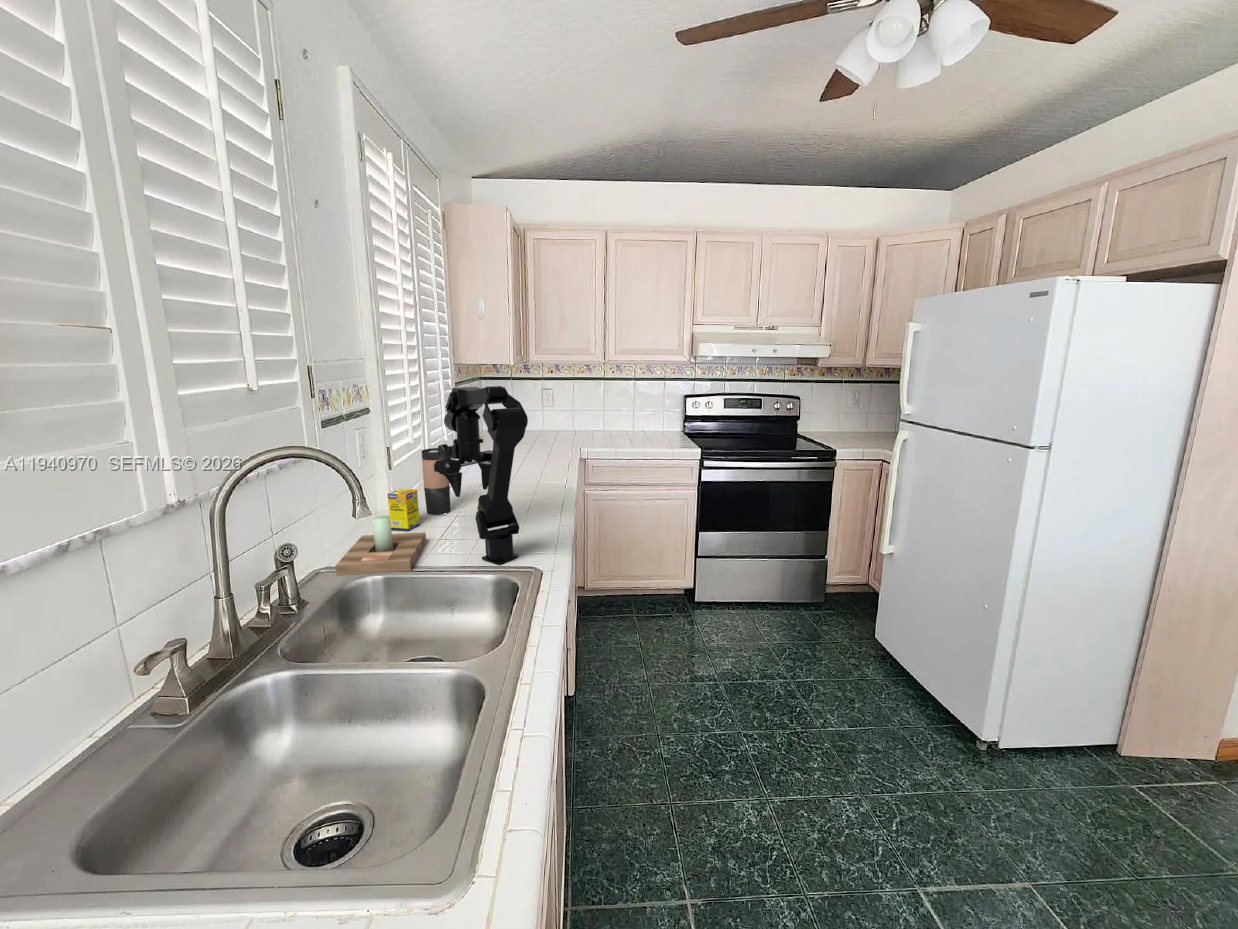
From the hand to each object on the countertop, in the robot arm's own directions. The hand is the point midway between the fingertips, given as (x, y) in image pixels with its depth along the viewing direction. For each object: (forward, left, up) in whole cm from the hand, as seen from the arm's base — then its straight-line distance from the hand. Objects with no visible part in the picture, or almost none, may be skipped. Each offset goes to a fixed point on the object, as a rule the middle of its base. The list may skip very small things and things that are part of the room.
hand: (471, 492), depth 142 cm
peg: (+8, +21, -13) cm, 26 cm away
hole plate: (+8, +21, -13) cm, 26 cm away
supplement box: (+24, +5, -13) cm, 28 cm away
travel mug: (+29, -10, -13) cm, 33 cm away
